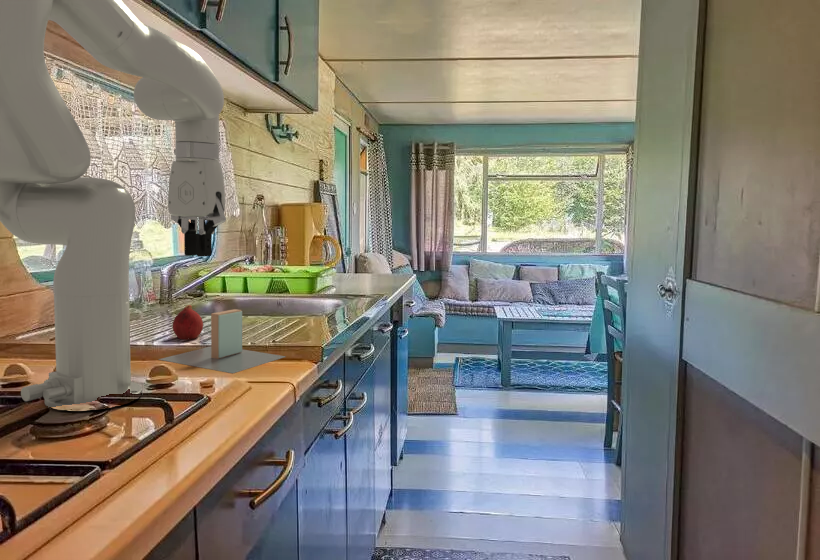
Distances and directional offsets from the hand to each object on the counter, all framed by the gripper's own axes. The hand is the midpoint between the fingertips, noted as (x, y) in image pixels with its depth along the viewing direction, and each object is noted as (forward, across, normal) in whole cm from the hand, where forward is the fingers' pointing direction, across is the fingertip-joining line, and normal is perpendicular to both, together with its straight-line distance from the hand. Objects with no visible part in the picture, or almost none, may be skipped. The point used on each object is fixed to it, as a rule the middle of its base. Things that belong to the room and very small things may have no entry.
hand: (198, 254), depth 115 cm
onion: (+19, -10, +7) cm, 23 cm away
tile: (+18, +7, 0) cm, 19 cm away
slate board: (+19, +8, -2) cm, 21 cm away
